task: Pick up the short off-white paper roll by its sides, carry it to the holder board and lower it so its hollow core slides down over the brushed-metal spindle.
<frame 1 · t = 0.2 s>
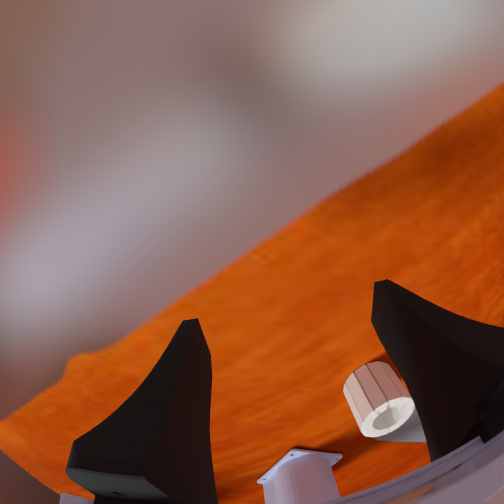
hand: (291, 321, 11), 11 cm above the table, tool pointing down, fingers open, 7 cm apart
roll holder: (447, 392, 29), on the table
paper roll: (368, 381, 26), on the table
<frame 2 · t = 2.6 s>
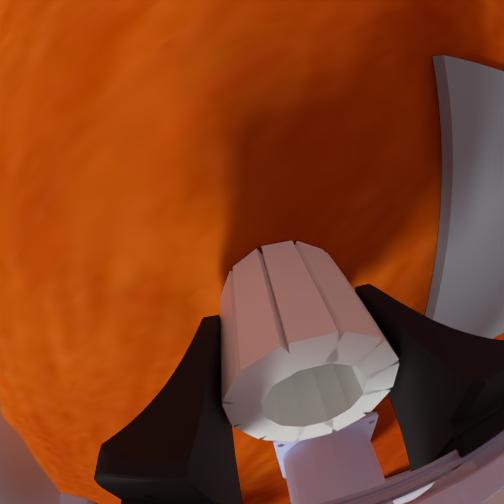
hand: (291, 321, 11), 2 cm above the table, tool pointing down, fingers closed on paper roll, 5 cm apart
charger: (374, 484, 31), on the table
paper roll: (284, 298, 13), on the table, touching gripper
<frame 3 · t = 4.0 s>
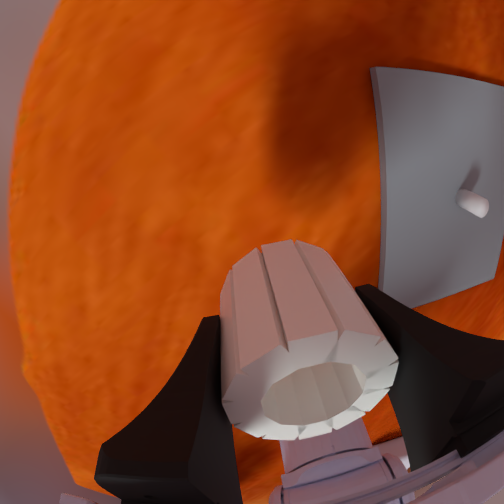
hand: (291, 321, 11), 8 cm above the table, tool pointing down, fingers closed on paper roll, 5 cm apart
charger: (367, 453, 37), on the table
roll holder: (454, 193, 18), on the table
paper roll: (283, 297, 13), point 6 cm above the table, touching gripper
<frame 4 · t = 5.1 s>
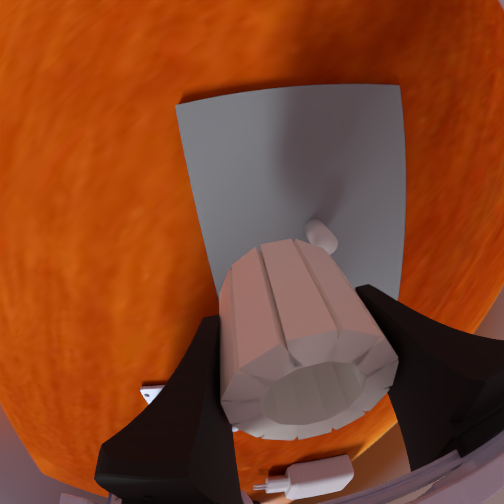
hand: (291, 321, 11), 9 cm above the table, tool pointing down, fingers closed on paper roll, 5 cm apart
milk carton: (139, 480, 38), on the table
charger: (297, 469, 38), on the table
coffee mug: (248, 501, 45), on the table
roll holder: (310, 224, 19), on the table
paper roll: (283, 297, 13), point 7 cm above the table, touching gripper
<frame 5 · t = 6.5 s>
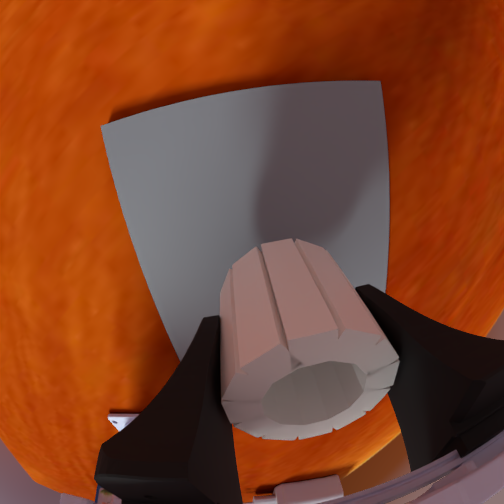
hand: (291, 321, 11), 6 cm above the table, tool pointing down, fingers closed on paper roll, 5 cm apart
milk carton: (125, 493, 35), on the table
charger: (286, 487, 35), on the table
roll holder: (270, 256, 17), on the table
paper roll: (283, 297, 13), point 4 cm above the table, touching gripper
when the fingers open (4 cm above the table, at t = 7.5 s): paper roll drops 1 cm, resting on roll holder.
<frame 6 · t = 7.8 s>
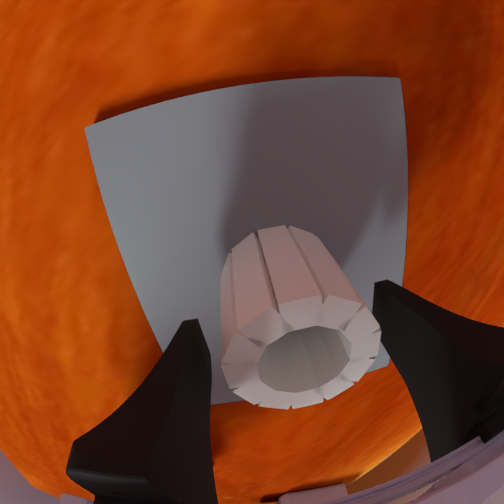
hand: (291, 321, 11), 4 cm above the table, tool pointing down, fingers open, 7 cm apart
charger: (290, 496, 34), on the table
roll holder: (275, 272, 15), on the table
paper roll: (278, 279, 14), point 1 cm above the table, touching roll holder
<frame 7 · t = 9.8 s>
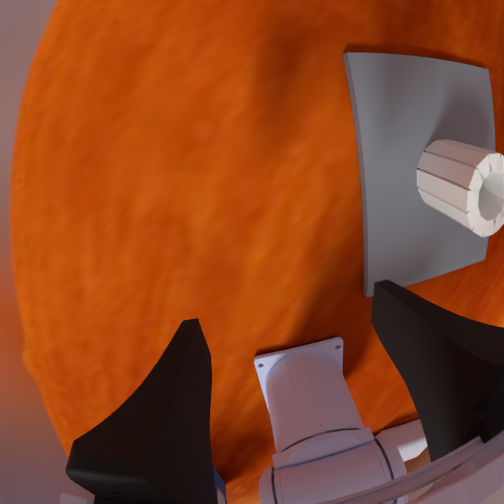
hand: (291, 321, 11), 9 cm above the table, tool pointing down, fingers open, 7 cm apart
milk carton: (202, 476, 38), on the table
charger: (379, 438, 38), on the table
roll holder: (436, 173, 19), on the table
paper roll: (443, 174, 18), point 1 cm above the table, touching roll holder
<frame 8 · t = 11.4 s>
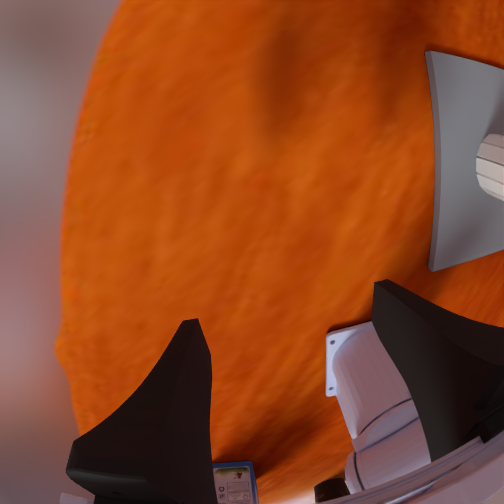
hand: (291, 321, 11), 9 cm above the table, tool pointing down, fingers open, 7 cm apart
milk carton: (234, 471, 37), on the table
coffee mug: (333, 480, 45), on the table
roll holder: (487, 162, 19), on the table
paper roll: (494, 164, 18), point 1 cm above the table, touching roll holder
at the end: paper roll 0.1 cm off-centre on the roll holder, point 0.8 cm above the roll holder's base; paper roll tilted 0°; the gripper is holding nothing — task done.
